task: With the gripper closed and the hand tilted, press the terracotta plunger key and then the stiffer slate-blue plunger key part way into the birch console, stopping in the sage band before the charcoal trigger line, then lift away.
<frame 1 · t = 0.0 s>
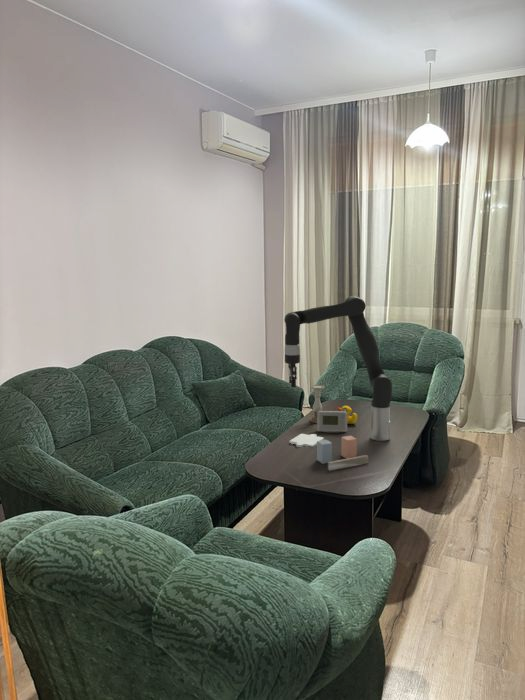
hand: (292, 385, 268), 29 cm above the table, tool pointing down, fingers open, 8 cm apart
digital clock: (332, 431, 288), on the table
candle holder: (317, 421, 306), on the table
slate key: (324, 451, 244), point 5 cm above the table, slide at 0.0 cm
duckling: (347, 423, 301), on the table
mounting plate: (306, 443, 272), on the table
terracotta key: (348, 447, 249), point 5 cm above the table, slide at 0.0 cm
key console: (339, 462, 245), on the table
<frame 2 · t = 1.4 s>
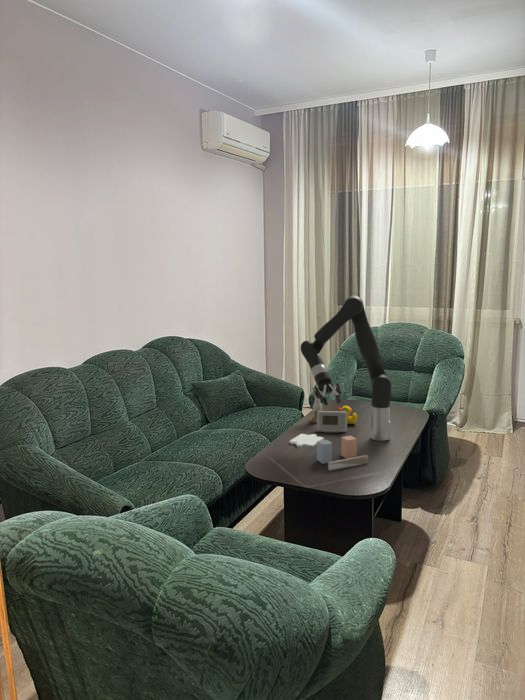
hand: (333, 403, 259), 22 cm above the table, tool tilted 45°, fingers open, 6 cm apart
nothing on the table moved.
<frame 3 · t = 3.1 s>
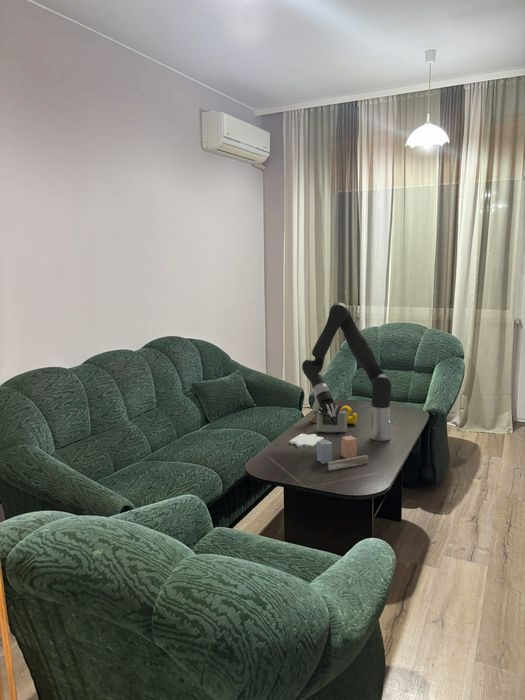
hand: (335, 424, 258), 13 cm above the table, tool tilted 45°, fingers closed
nothing on the table moved.
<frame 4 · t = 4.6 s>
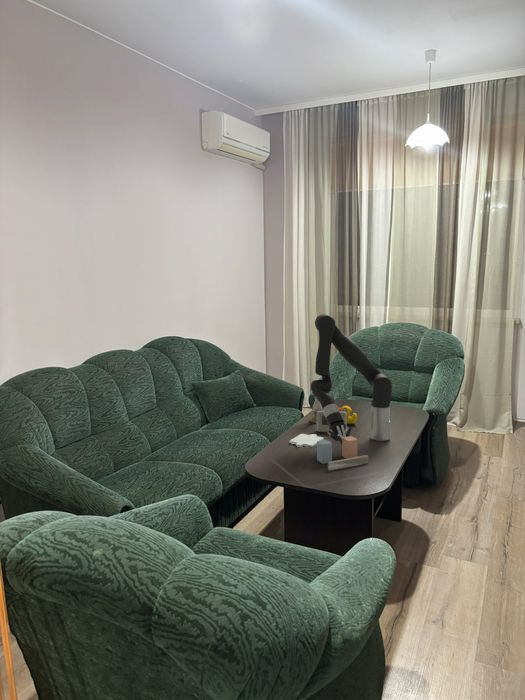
hand: (346, 447, 251), 4 cm above the table, tool tilted 45°, fingers closed
terracotta key: (349, 447, 248), point 5 cm above the table, slide at 0.8 cm, touching gripper
everything else where it was.
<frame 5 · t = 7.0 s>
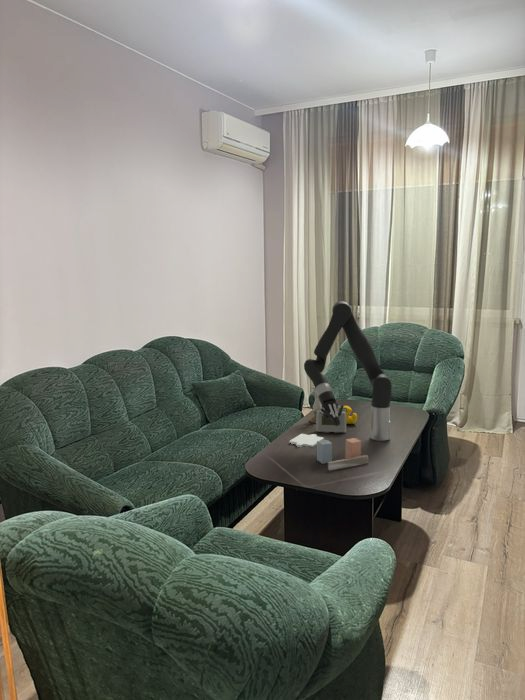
hand: (338, 425, 255), 13 cm above the table, tool tilted 45°, fingers closed
terracotta key: (353, 449, 246), point 5 cm above the table, slide at 3.5 cm
everything else where it was.
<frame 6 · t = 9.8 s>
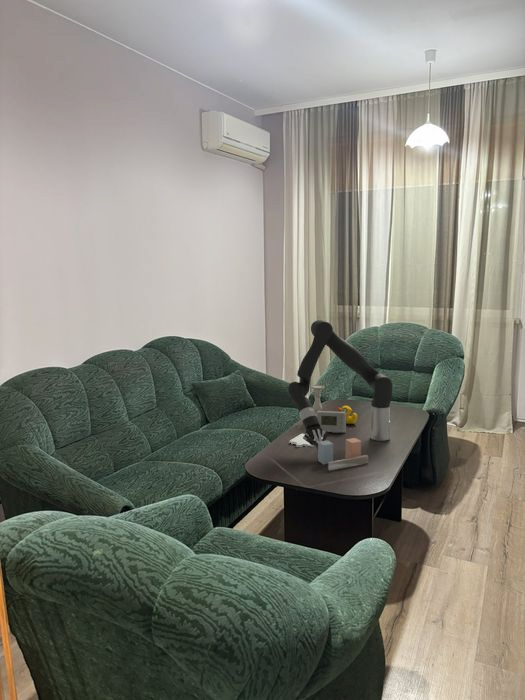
hand: (322, 452, 246), 4 cm above the table, tool tilted 45°, fingers closed
slate key: (325, 452, 243), point 5 cm above the table, slide at 1.0 cm, touching gripper
everything else where it was.
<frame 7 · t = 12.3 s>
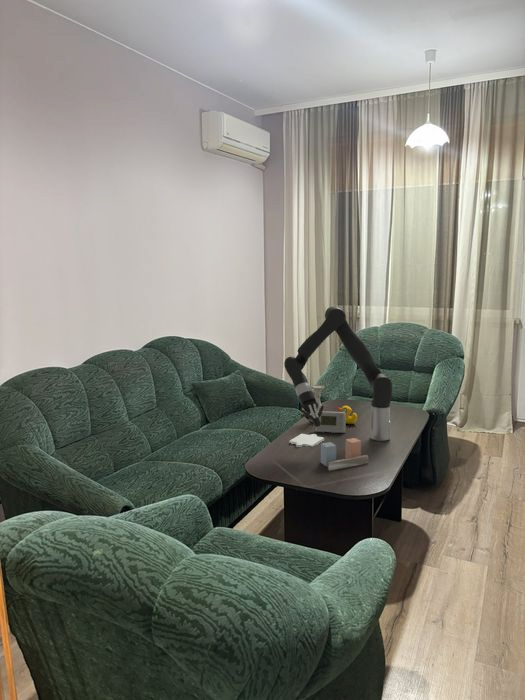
hand: (318, 426, 251), 14 cm above the table, tool tilted 40°, fingers closed
slate key: (328, 454, 240), point 5 cm above the table, slide at 3.5 cm
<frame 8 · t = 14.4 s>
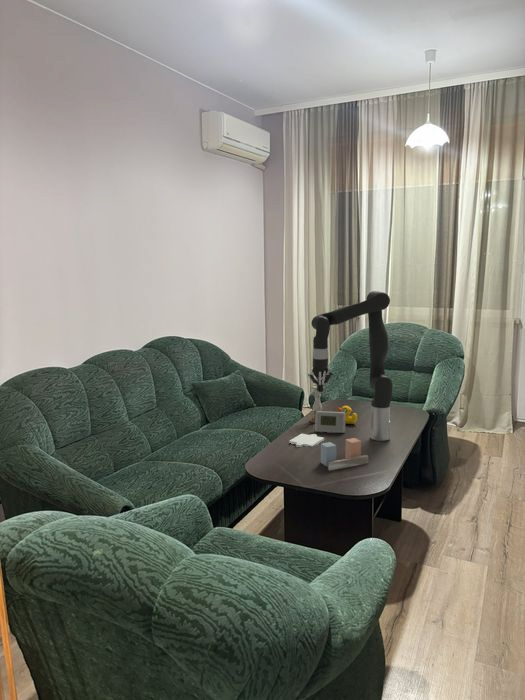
hand: (320, 391, 263), 27 cm above the table, tool pointing down, fingers closed
at the end: terracotta key slide at 3.5 cm; slate key slide at 3.5 cm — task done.
